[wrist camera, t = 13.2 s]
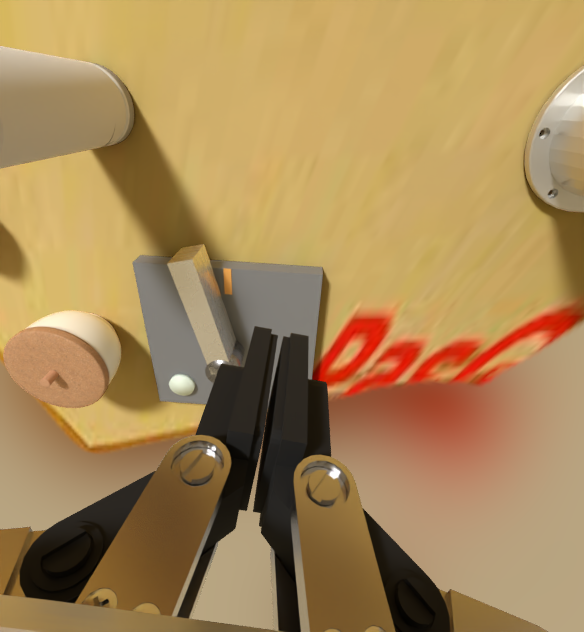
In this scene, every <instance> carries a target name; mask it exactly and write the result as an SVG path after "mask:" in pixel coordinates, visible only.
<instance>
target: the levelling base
mask: <svg viewBox="0 0 584 632" xmlns="http://www.w3.org/2000/svg"><path fill="white" fill-rule="evenodd" d="M172 258H173V257H160V256H144V255H140V256H139V257H138V258H137V259H136V260H135V261H133V267H134V272H135V277H136V282H137V287H138V292H139V297H140V302H141V307H142V313H143V318H144V323H145V328H146V333H147V338H148V343H149V348H150V353H151V358H152V363H153V368H154V373H155V378H156V383H157V388H158V393H159V398H160V401H168V402H181V403H195V404H207V401H208V398H209V395H210V392H211V390H212V387H213V384H214V383H212V382H211V381H210V380H209V379H208V378H207V376H206V374H205V369H206V366H207V363H206V360H205V358H204V355H203V353H202V350H201V348H200V345H199V343H198V340H197V338H196V335H195V333H194V330H193V328H192V325H191V323H190V320H189V318H188V315H187V313H186V310H185V308H184V305H183V303H182V300H181V298H180V295H179V293H178V290H177V288H176V285H175V283H174V280H173V278H172V275H171V272H170V270H169V267H168V265H167V263H168V262H169V261H170V260H171V259H172ZM210 263H211V266H212V269H213V272H214V275H215V278H216V281H217V284H218V287H219V290H220V293H221V296H222V299H223V302H224V305H225V308H226V311H227V314H228V317H229V320H230V323H231V326H232V329H233V332H234V335H235V338H236V341H238V342H239V343H241V344H242V346H243V347H244V350H245V354H244V358H243V362H242V365H241V367H244V366H245V362H246V358H247V354H248V350H249V346H250V342H251V338H252V334H253V330H254V327H255V326H258V327H263V328H269V329H272V332H271V334H275V335H278V339H277V346H276V353H275V360H274V367H273V373H272V380H271V387H270V394H269V399H270V395H271V390H272V386H273V381H274V376H275V372H276V367H277V363H278V358H279V354H280V349H281V344H282V340H283V336H286V337H290V334H291V333H295V334H301V335H306V336H309V350H308V379H311V380H312V373H313V363H314V354H315V344H316V335H317V325H318V316H319V306H320V297H321V287H322V278H323V271H322V267H311V266H296V265H281V264H265V263H250V262H235V261H220V260H210ZM268 405H269V401H268ZM267 409H268V408H267Z"/></svg>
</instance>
